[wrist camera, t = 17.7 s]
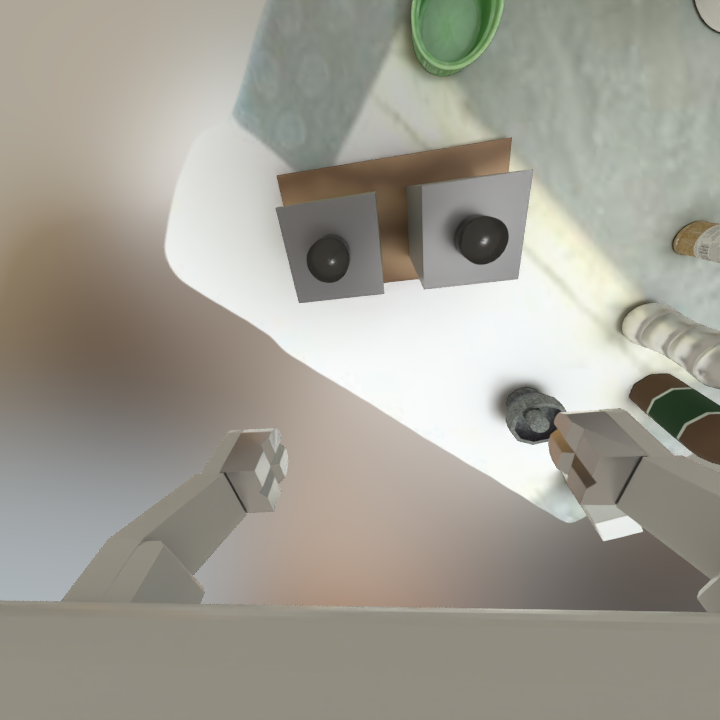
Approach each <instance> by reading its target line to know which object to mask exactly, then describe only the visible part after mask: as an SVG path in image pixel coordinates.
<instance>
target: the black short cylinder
mask: <svg viewBox="0 0 720 720" xmlns="http://www.w3.org/2000/svg"><path fill="white" fill-rule="evenodd" d="M508 240H509V233H508V229H507V227H506V225H505V224H504V223H503V222H502V221H501V220H499V219H497V218H494V217H490V216H486V215H482V214H475V215H471V216H469V217H467V218H466V219H464V220H463V221H462V222H461V223H460V224H459V226H458V228H457V229H456V232H455V236H454V244H455V247H456V249H457V251H458V252H459V253H460V254H461V255H462V256H464V257H465V258H466V259H467V260H469V261H470V262H472V263H474V264H477V265H484V264H488V263H491V262H493V261H495V260H496V259H498V258H499V257H500V256H501V255H502V253H503V252H504V251H505V249H506V247H507V244H508Z"/></svg>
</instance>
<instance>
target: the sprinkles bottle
mask: <svg viewBox="0 0 720 720" xmlns="http://www.w3.org/2000/svg"><path fill="white" fill-rule="evenodd" d="M673 246H674V250H675V252H676V253H678V254H680V255H689V256H694V257H697V258H700V259H704V260H709V261H713V262H717V263H720V224H717V223H709V222H706V221H697V222H694V223H691V224H689V225H687V226H686V227H685V228H683V229H682V230H681V231H680V232H679V234H678V235H677V236H676V238H675V240H674V243H673Z"/></svg>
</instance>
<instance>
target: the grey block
mask: <svg viewBox="0 0 720 720" xmlns="http://www.w3.org/2000/svg"><path fill="white" fill-rule="evenodd" d="M532 175H533V170H525V171H516V172H507V173H498V174H489V175H480V176H473V177H466V178H459V179H453V180H446V181H439V182H433V183H426V184H419V185H413V186H406V194H407V216H408V239H409V257H410V259H411V261H412V264H413V266H414V268H415V270H416V273H417V275H418V277H419V279H420V282H421V284H422V286H423V288H424V289H432V288H441V287H450V286H459V285H468V284H477V283H486V282H495V281H504V280H513V279H518V275H519V268H520V261H521V254H522V246H523V239H524V232H525V225H526V218H527V211H528V203H529V196H530V189H531V182H532ZM475 214H482V215H486V216H490V217H494V218H497V219H499V220H501V221H502V222H503V223H504V224H505V225H506V227H507V229H508V233H509V240H508V244H507V247H506V249H505V251H504V252H503V253H502V255H501V256H500V257H499V258H498V259H496V260H495V261H493V262H491V263H488V264H484V265H477V264H474V263H472V262H470V261H469V260H467V259H466V258H465V257H464V256H462V255H461V254H460V253H459V252H458V251H457V249H456V247H455V244H454V236H455V232H456V229H457V228H458V226H459V224H460V223H461V222H462V221H463V220H464V219H466V218H467V217H469V216H471V215H475Z"/></svg>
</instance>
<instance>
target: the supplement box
mask: <svg viewBox="0 0 720 720" xmlns="http://www.w3.org/2000/svg"><path fill="white" fill-rule="evenodd" d="M561 472H562V471H561ZM562 474H563V476H564V477H565V479H567V474H565V473H564V472H562ZM616 506H617V505H581V507H582V508H583V510H584V512H585V513H586V515H587V516H588V518H589V519H590V521H591V523H592V524H593V526H594V527H595V529H596V531H597V532H598V534H599V535H600V537H601V538H602V540H603V541H607V540H611V539H615V538H619V537H623V536H627V535H631V534H635V533H639V532H643V530H642V527H641V525H639V524H638V523H637V522H635V521H634V520H633V519H631V518H630V517H629V516H627V515H626V514H625V513H623V512H622V511H621V510H620V509H618V508H617V507H616Z"/></svg>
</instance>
